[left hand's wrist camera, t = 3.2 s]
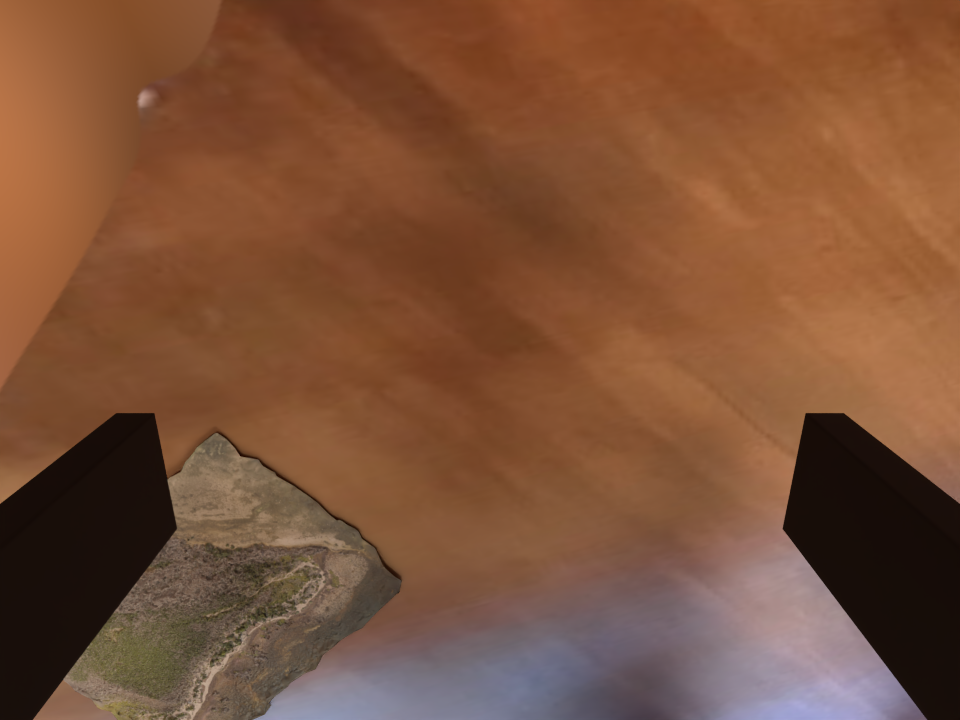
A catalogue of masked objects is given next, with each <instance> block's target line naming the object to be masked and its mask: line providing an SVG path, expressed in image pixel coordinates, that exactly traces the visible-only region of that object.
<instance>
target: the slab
mask: <svg viewBox="0 0 960 720" xmlns="http://www.w3.org/2000/svg"><path fill="white" fill-rule="evenodd" d="M168 485H169V490H170V495H171V500H172V505H173V510H174V515H175V520H176V525H177V530H176V531H175V532H174V534H173V535H172V536H171V538H170V539H169V540H168V542H167V543H166V544H165V546H164V547H163V548H162V550H161V551H160V552H159V554H158V555H157V556H156V558H155V559H154V560H153V562H152V563H151V564H150V566H149V567H148V568H147V569H146V571H145V572H144V573H143V575H142V576H141V577H140V579H139V580H138V581H137V583H136V584H135V585H134V587H133V588H132V589H131V591H130V592H129V593H128V595H127V596H126V597H125V599H124V600H123V601H122V602H121V604H120V605H119V606H118V608H117V609H116V610H115V612H114V613H113V614H112V616H111V617H110V618H109V620H108V621H107V622H106V624H105V625H104V626H103V628H102V629H101V630H100V632H99V633H98V634H97V635H96V637H95V638H94V639H93V641H92V642H91V643H90V645H89V646H88V647H87V649H86V650H85V651H84V653H83V654H82V655H81V657H80V658H79V659H78V661H77V662H76V663H75V665H74V666H73V667H72V669H71V670H70V671H69V672H68V674H67V675H66V676H65V678H64V679H63V680H64V681H65V682H66V683H68V684H69V685H70V686H71V687H72V688H73V689H74V690H75V691H76V692H78V693H80V694H82V695H84V696H86V697H88V698H90V699H92V701H93V702H94V703H95V705H96V706H97V707H98V708H99V709H103V710H106V711H110V712H112V713H113V714H114V716H115V717H116V718H117V720H253V719H255V718H257V717H260V716H262V715H264V714H265V713H266V712H267V710H268V709H269V707H270V706H271V705H269V702H270V701H271V700H272V699H273V698H274V697H275V696H276V695H277V694H279V693H280V692H281V691H283V690H284V689H285V688H286V687H288V685H289V684H290V683H291V682H292V681H294V680H295V679H297V678H298V677H300V676H301V675H303V674H305V673H307V672H309V671H312V670H314V669H316V667H317V665H318V663H319V661H320V659H321V657H322V656H323V655H324V654H325V653H326V652H327V651H329V650H330V649H331V648H332V647H333V646H335V645H336V644H337V643H338V642H339V641H340V640H341V639H343V638H345V637H346V636H348V635H350V634H351V633H353V632H355V631H357V630H359V629H361V628H363V626H364V625H365V624H366V623H367V622H368V621H369V620H370V619H371V618H372V617H373V616H374V615H375V614H376V612H377V611H379V610H380V609H381V608H382V607H383V606H384V605H385V604H386V603H387V602H388V601H390V600H391V599H392V598H393V597H394V596H395V595H396V594H397V593H399V591H400V586H401V580H399V579H398V578H396V577H394V576H393V575H392V574H391V573H390V572H389V571H388V570H387V569H386V568H384V567H383V564H382V562H381V560H380V558H379V556H378V554H377V551H376V549H375V548H374V547H373V546H371V545H370V544H368V543H367V542H366V541H364V540H363V539H362V538H361V536H360V534H359V532H358V531H357V530H356V529H355V528H353V527H351V526H349V525H347V524H345V523H344V522H343V521H341V520H336V519H334V518H333V517H332V516H330V515H329V514H328V513H327V512H326V511H325V510H324V509H323V508H322V507H321V506H320V505H319V504H318V503H317V502H316V501H314V500H313V499H312V498H310V497H309V496H307V495H306V494H304V493H303V492H302V491H300V490H299V489H297V488H296V487H294V486H293V485H291V484H289V483H288V482H286V481H284V480H282V479H281V478H279V477H277V476H276V474H275V472H273V471H271V470H269V469H267V468H265V467H264V466H262V464H261V463H260V461H259V460H258V459H252V458H246V457H240V455H239V454H238V452H237V451H236V449H235V448H234V447H233V446H232V445H231V444H230V443H229V441H228V440H227V439H225V438H224V437H222V436H221V435H220V434H218V433H215V434H213V435H212V436H211V437H209V438H208V439H207V440H205V441H204V442H203V443H202V444H200V445H199V446H198V447H197V448H196V449H195V451H194V453H193V454H192V455H191V456H190V457H189V458H188V460H187V461H186V462H185V464H184V466H183V468H182V471H181V472H179V473H178V474H176V475H174V476H172V477H170V478H169V479H168Z"/></svg>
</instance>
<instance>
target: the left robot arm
mask: <svg viewBox="0 0 960 720" xmlns="http://www.w3.org/2000/svg"><path fill="white" fill-rule="evenodd" d="M176 530H177V525H176V520H175V515H174V510H173V505H172V500H171V495H170V490H169V485H168V480H167V475H166V470H165V465H164V460H163V454H162V449H161V444H160V439H159V434H158V429H157V424H156V419H155V414H154V413H116V414H115V415H113V416H112V417H111V418H110V419H108V420H107V421H106V422H104V423H103V424H102V425H101V426H99V427H98V428H97V429H96V430H94V431H93V432H92V433H90V434H89V435H88V436H87V437H85V438H84V439H83V440H81V441H80V442H79V443H78V444H76V445H75V446H74V447H72V448H71V449H70V450H69V451H67V452H66V453H65V454H64V455H62V456H61V457H60V458H58V459H57V460H56V461H55V462H53V463H52V464H51V465H49V466H48V467H47V468H46V469H44V470H43V471H42V472H41V473H39V474H38V475H37V476H35V477H34V478H33V479H32V480H30V481H29V482H28V483H26V484H25V485H24V486H23V487H21V488H20V489H19V490H17V491H16V492H15V493H14V494H12V495H11V496H10V497H9V498H7V499H6V500H5V501H3V502H2V503H1V504H0V720H33V719H34V717H35V716H36V715H37V713H38V712H39V711H40V709H41V708H42V707H43V705H44V704H45V703H46V702H47V700H48V699H49V698H50V696H51V695H52V694H53V692H54V691H55V690H56V688H57V687H58V686H59V684H60V683H61V682H62V680H63V679H64V678H65V676H66V675H67V674H68V672H69V671H70V670H71V669H72V667H73V666H74V665H75V663H76V662H77V661H78V659H79V658H80V657H81V655H82V654H83V653H84V651H85V650H86V649H87V647H88V646H89V645H90V643H91V642H92V641H93V639H94V638H95V637H96V635H97V634H98V633H99V632H100V630H101V629H102V628H103V626H104V625H105V624H106V622H107V621H108V620H109V618H110V617H111V616H112V614H113V613H114V612H115V610H116V609H117V608H118V606H119V605H120V604H121V602H122V601H123V600H124V599H125V597H126V596H127V595H128V593H129V592H130V591H131V589H132V588H133V587H134V585H135V584H136V583H137V581H138V580H139V579H140V577H141V576H142V575H143V573H144V572H145V571H146V569H147V568H148V567H149V566H150V564H151V563H152V562H153V560H154V559H155V558H156V556H157V555H158V554H159V552H160V551H161V550H162V548H163V547H164V546H165V544H166V543H167V542H168V540H169V539H170V538H171V536H172V535H173V534H174V532H175V531H176ZM783 530H784V531H785V532H786V534H787V535H788V536H789V538H790V539H791V540H792V542H793V543H794V544H795V546H796V547H797V548H798V550H799V551H800V552H801V554H802V555H803V556H804V558H805V559H806V560H807V562H808V563H809V564H810V566H811V567H812V568H813V569H814V571H815V572H816V573H817V575H818V576H819V577H820V579H821V580H822V581H823V583H824V584H825V585H826V587H827V588H828V589H829V591H830V592H831V593H832V595H833V596H834V597H835V599H836V600H837V601H838V602H839V604H840V605H841V606H842V608H843V609H844V610H845V612H846V613H847V614H848V616H849V617H850V618H851V620H852V621H853V622H854V624H855V625H856V626H857V628H858V629H859V630H860V632H861V633H862V634H863V635H864V637H865V638H866V639H867V641H868V642H869V643H870V645H871V646H872V647H873V649H874V650H875V651H876V653H877V654H878V655H879V657H880V658H881V659H882V661H883V662H884V663H885V665H886V666H887V667H888V669H889V670H890V671H891V672H892V674H893V675H894V676H895V678H896V679H897V680H898V682H899V683H900V684H901V686H902V687H903V688H904V690H905V691H906V692H907V694H908V695H909V696H910V698H911V699H912V700H913V702H914V703H915V704H916V705H917V707H918V708H919V709H920V711H921V712H922V713H923V715H924V716H925V717H926V719H927V720H960V504H959V503H958V502H957V501H955V500H954V499H953V498H951V497H950V496H949V495H948V494H946V493H945V492H944V491H943V490H941V489H940V488H939V487H937V486H936V485H935V484H934V483H932V482H931V481H930V480H928V479H927V478H926V477H925V476H923V475H922V474H921V473H919V472H918V471H917V470H916V469H914V468H913V467H912V466H911V465H909V464H908V463H907V462H905V461H904V460H903V459H902V458H900V457H899V456H898V455H896V454H895V453H894V452H893V451H891V450H890V449H889V448H887V447H886V446H885V445H884V444H882V443H881V442H880V441H879V440H877V439H876V438H875V437H873V436H872V435H871V434H870V433H868V432H867V431H866V430H864V429H863V428H862V427H861V426H859V425H858V424H857V423H856V422H854V421H853V420H852V419H850V418H849V417H848V416H847V415H845V414H844V413H806V414H805V419H804V424H803V429H802V434H801V439H800V444H799V449H798V454H797V459H796V465H795V470H794V475H793V480H792V485H791V490H790V495H789V500H788V505H787V510H786V515H785V520H784V525H783Z"/></svg>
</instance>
